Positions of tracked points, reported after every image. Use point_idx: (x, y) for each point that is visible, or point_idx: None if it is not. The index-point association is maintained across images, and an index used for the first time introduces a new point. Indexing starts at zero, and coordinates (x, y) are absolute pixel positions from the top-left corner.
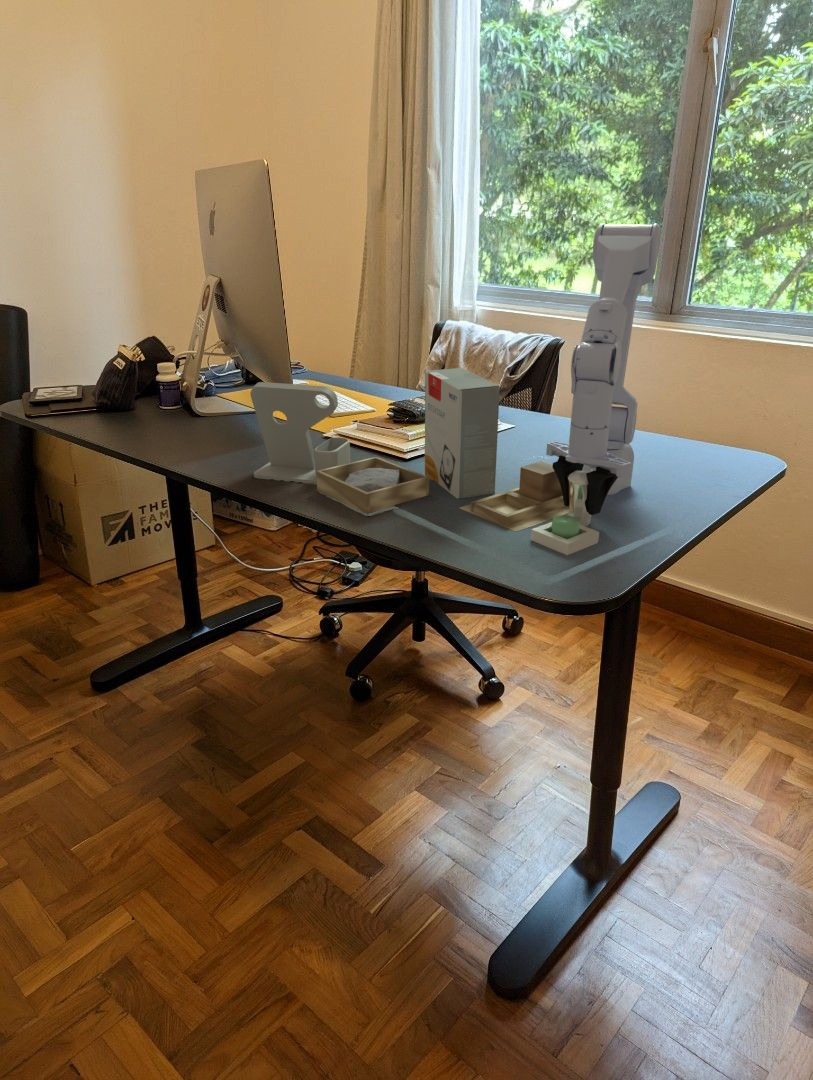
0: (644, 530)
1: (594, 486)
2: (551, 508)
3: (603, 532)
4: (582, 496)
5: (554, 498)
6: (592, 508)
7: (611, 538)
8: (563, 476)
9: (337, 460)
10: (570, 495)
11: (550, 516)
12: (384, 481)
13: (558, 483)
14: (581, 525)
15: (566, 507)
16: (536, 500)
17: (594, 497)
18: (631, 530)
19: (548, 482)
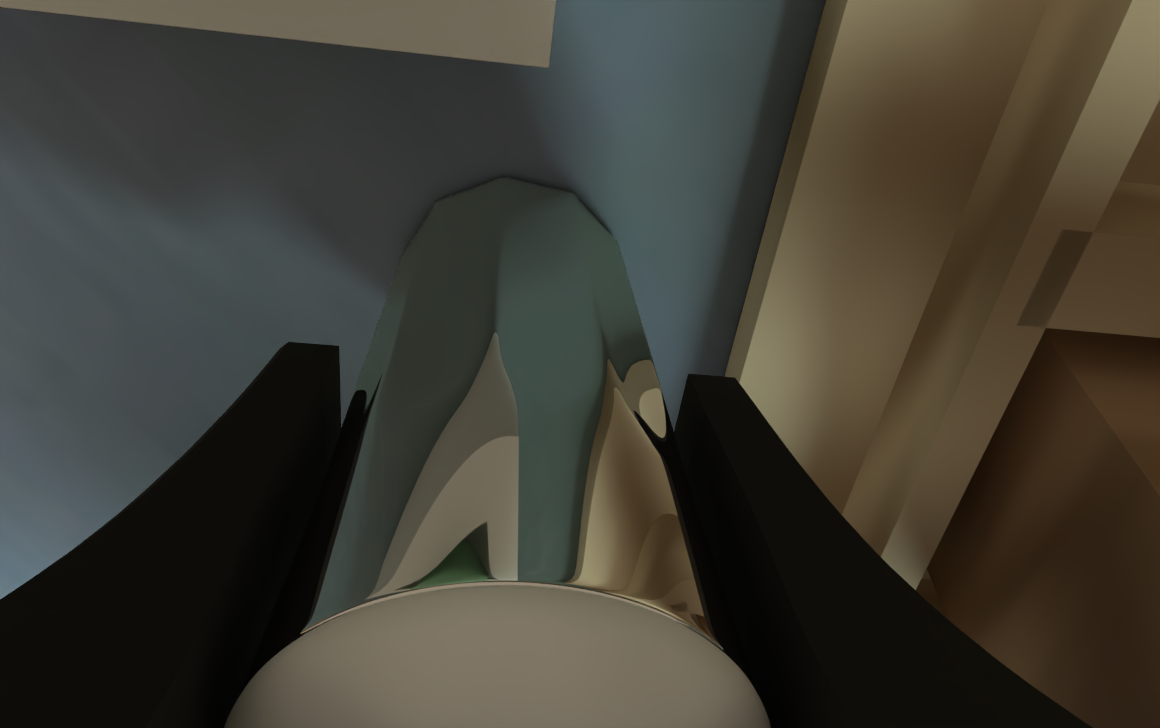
0: None
1: (19, 638)
2: (918, 365)
3: (252, 316)
4: (370, 456)
5: (959, 497)
6: (247, 390)
7: (88, 250)
8: (846, 676)
9: None
10: (589, 415)
11: (845, 222)
12: None
13: None
14: (170, 12)
15: None
16: (1137, 370)
17: (143, 496)
18: (135, 496)
19: (1127, 615)
